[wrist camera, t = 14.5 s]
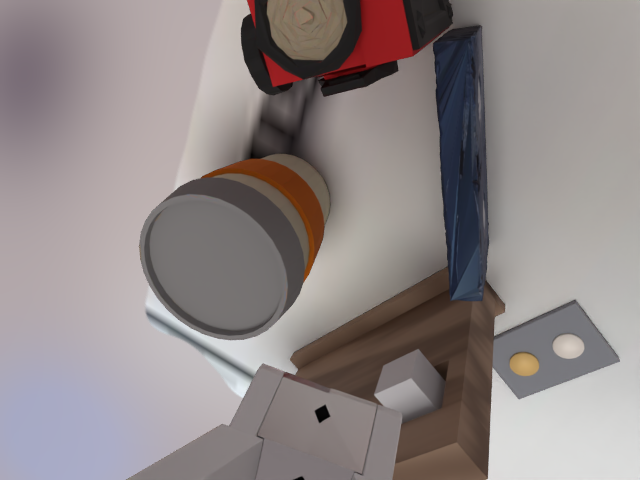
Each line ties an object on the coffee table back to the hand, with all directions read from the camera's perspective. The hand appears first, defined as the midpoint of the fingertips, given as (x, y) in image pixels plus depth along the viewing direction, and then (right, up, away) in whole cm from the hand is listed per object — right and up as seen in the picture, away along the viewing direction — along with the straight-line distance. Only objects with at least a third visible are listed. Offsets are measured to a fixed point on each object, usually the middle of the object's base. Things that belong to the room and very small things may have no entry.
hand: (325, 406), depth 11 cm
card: (+21, -7, +38) cm, 44 cm away
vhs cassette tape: (+12, +11, +32) cm, 37 cm away
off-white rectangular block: (+8, -8, +28) cm, 30 cm away
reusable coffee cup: (-3, +8, +40) cm, 41 cm away
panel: (+7, -6, +43) cm, 44 cm away
